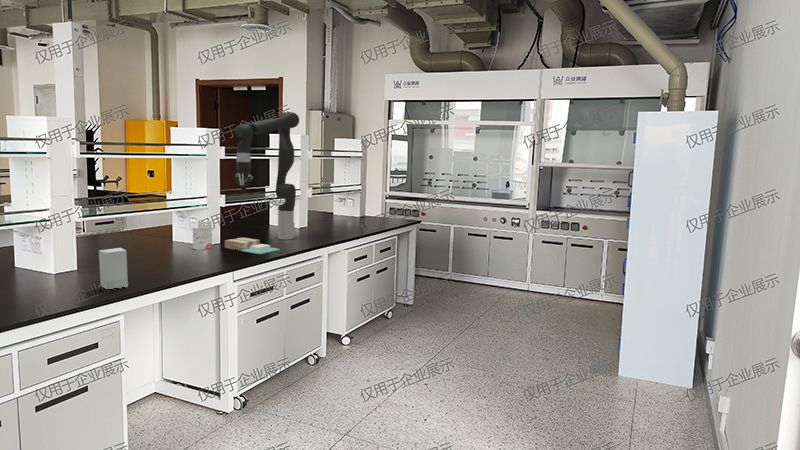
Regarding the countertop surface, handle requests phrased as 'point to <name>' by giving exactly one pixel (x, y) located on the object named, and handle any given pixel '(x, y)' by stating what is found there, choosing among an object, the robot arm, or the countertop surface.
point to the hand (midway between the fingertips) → (243, 192)
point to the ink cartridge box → (202, 236)
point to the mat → (261, 251)
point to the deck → (241, 243)
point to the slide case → (259, 247)
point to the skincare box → (113, 268)
